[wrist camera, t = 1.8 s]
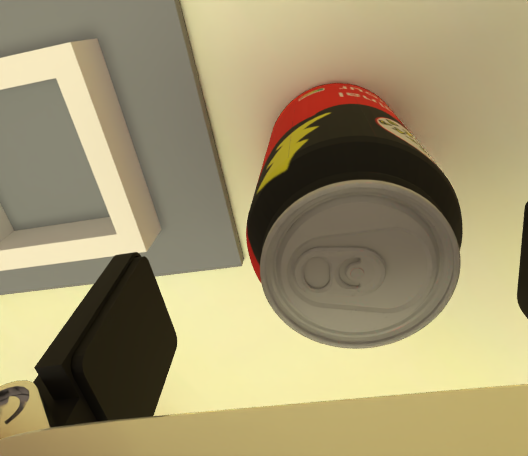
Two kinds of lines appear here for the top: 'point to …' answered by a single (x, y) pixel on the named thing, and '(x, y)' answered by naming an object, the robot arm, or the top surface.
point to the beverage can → (352, 222)
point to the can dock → (105, 145)
